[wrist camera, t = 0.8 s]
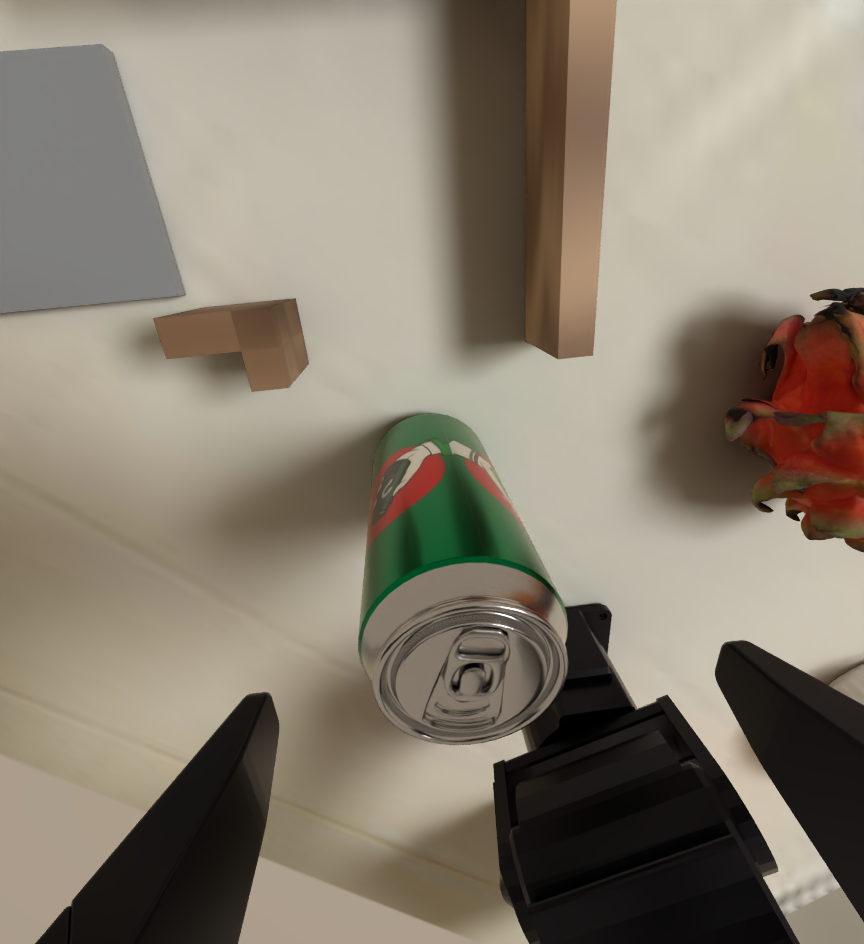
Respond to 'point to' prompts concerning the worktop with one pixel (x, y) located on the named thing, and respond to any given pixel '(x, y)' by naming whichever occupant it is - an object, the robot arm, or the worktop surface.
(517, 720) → the soda can
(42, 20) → the worktop surface
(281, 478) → the worktop surface
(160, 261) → the slate coaster
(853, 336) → the dragon fruit
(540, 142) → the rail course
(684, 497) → the worktop surface
